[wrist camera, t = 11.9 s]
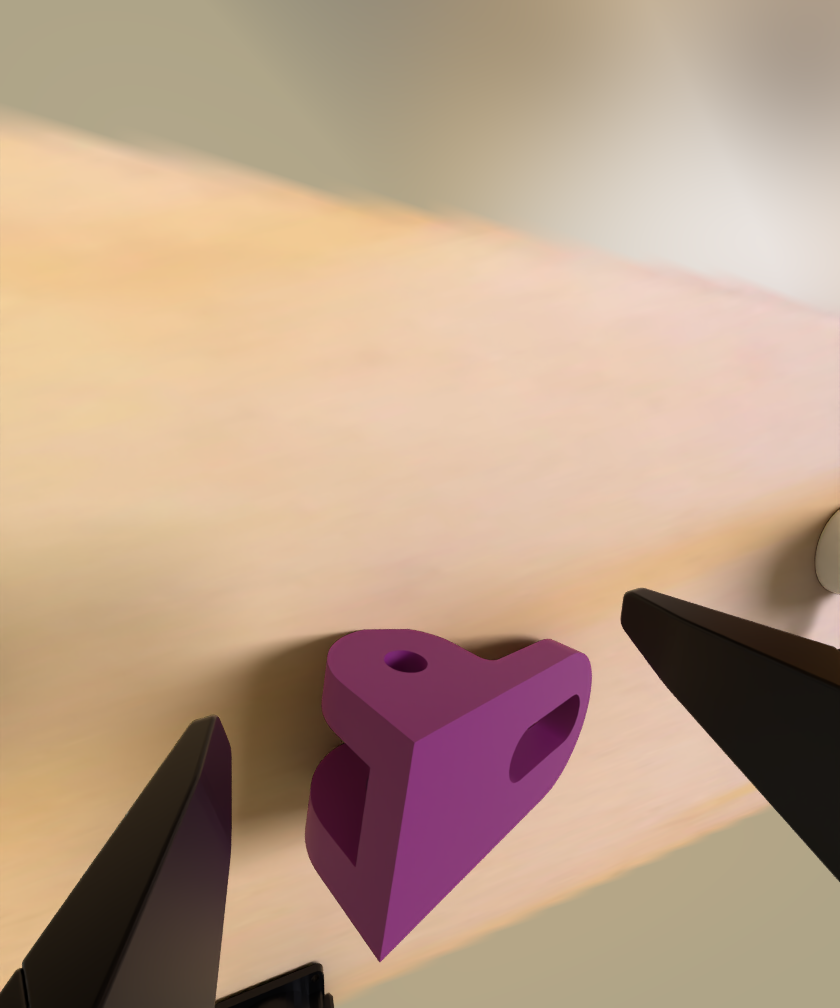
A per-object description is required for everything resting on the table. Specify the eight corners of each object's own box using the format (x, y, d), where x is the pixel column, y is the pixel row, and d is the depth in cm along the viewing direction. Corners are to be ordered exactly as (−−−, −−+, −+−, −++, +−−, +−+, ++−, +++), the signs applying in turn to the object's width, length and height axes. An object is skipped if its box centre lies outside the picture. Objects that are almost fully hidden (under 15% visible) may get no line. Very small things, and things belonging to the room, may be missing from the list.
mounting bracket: (497, 596, 34) (296, 645, 21) (602, 638, 28) (414, 741, 15) (478, 704, 35) (276, 814, 22) (575, 766, 30) (378, 963, 17)
